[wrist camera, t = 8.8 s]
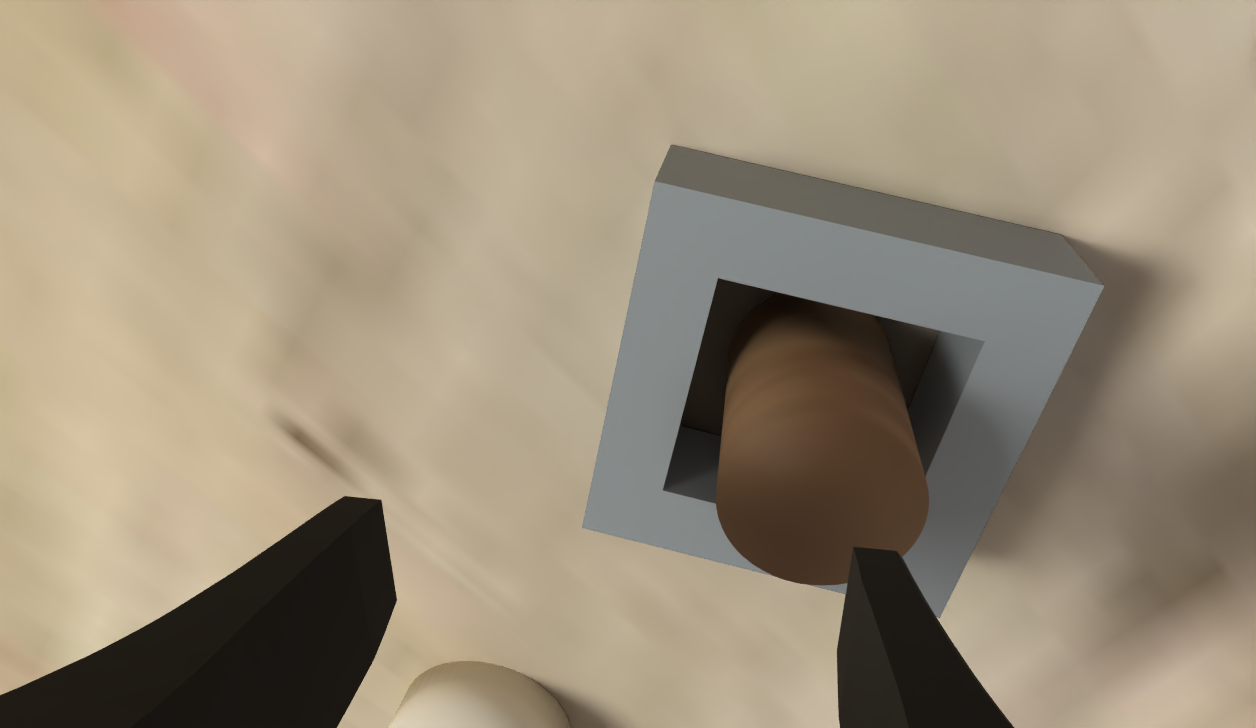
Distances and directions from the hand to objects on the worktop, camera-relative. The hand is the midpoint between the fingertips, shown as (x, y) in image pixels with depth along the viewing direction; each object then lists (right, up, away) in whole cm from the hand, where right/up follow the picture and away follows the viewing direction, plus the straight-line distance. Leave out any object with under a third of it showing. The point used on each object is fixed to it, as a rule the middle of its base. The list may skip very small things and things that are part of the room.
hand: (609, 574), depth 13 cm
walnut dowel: (+5, +3, +9) cm, 11 cm away
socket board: (+5, +3, +9) cm, 10 cm away
